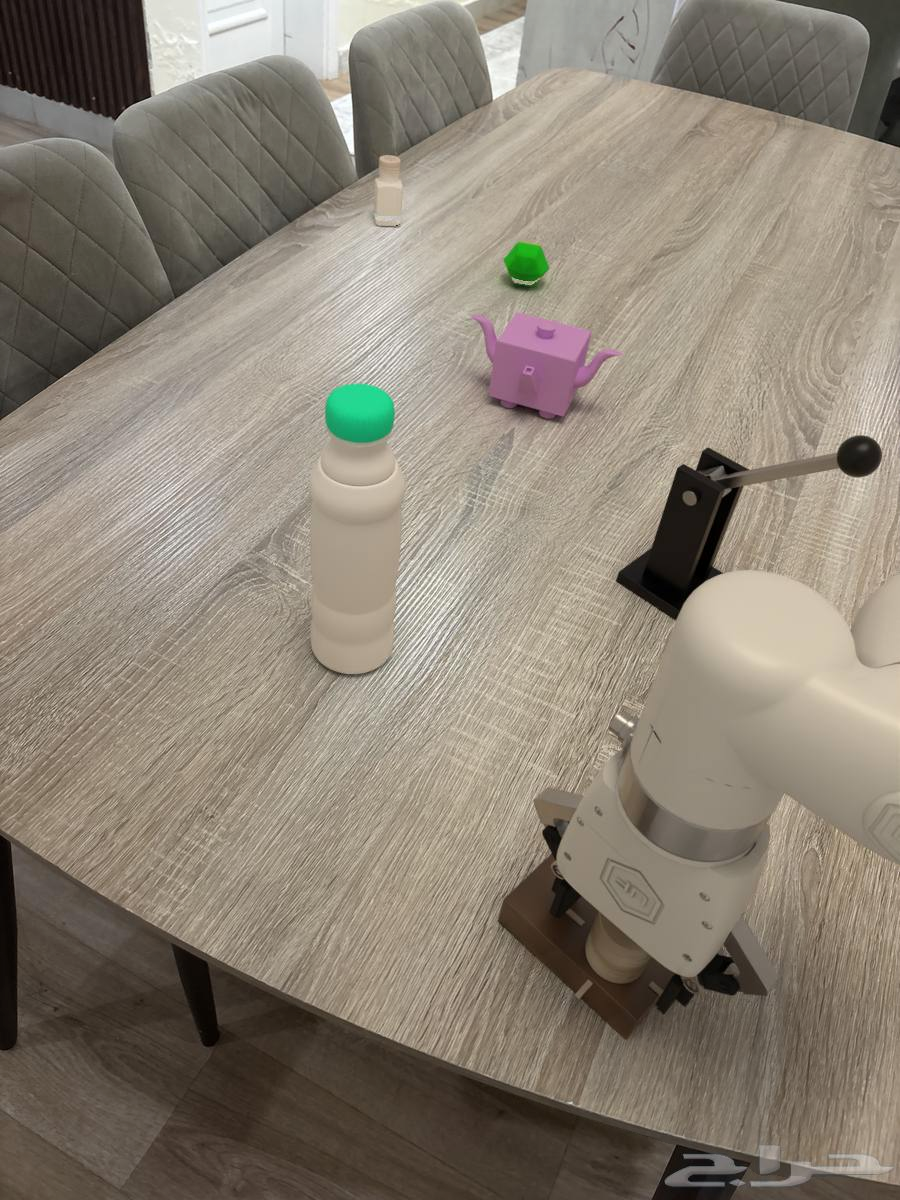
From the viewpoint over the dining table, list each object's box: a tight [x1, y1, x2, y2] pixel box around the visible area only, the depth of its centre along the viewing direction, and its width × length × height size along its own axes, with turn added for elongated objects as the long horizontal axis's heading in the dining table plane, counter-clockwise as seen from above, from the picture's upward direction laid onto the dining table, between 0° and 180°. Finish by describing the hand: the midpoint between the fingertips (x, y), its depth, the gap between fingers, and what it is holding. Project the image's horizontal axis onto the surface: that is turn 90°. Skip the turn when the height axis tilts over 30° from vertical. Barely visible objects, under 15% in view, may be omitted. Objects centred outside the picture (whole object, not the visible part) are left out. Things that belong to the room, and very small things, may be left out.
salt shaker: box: [373, 154, 404, 227], centre depth 143 cm, size 4×4×10 cm
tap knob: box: [585, 911, 652, 984], centre depth 58 cm, size 4×4×5 cm
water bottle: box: [308, 382, 406, 675], centre depth 72 cm, size 7×7×25 cm
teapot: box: [470, 311, 623, 420], centre depth 109 cm, size 18×13×10 cm
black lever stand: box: [615, 446, 750, 621], centre depth 86 cm, size 8×8×14 cm
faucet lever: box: [697, 434, 883, 497], centre depth 77 cm, size 17×3×3 cm
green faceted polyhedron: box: [503, 241, 550, 287], centre depth 134 cm, size 7×6×9 cm
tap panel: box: [497, 852, 675, 1041], centre depth 63 cm, size 12×11×3 cm
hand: (618, 946), depth 59 cm, fingers open, 7 cm apart
